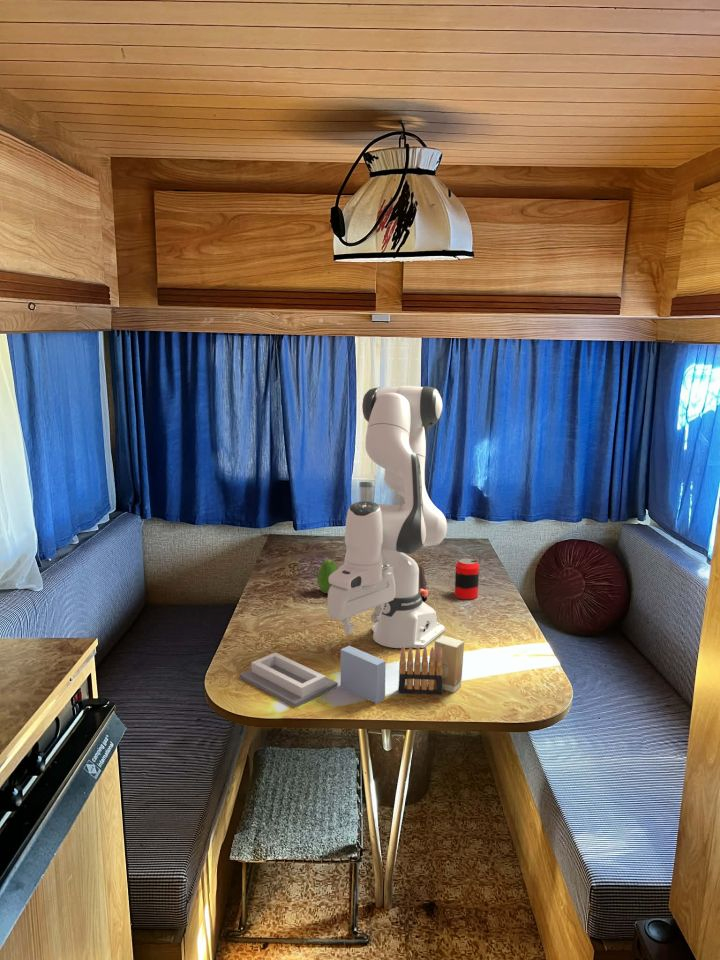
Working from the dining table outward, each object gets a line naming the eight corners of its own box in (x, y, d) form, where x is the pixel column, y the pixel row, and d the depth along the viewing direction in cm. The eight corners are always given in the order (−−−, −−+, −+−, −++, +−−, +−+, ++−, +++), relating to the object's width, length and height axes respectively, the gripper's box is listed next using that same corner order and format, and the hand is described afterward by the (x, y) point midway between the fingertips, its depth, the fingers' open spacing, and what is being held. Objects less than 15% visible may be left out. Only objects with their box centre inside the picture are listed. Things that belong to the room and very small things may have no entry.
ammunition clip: (441, 691, 177) (443, 645, 175) (442, 695, 176) (443, 649, 173) (398, 689, 178) (399, 644, 176) (398, 693, 176) (399, 647, 174)
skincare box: (431, 686, 180) (433, 640, 177) (439, 679, 183) (441, 634, 181) (454, 693, 176) (456, 647, 174) (462, 686, 180) (464, 640, 177)
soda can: (479, 600, 236) (481, 565, 234) (456, 600, 236) (457, 565, 234) (475, 591, 244) (477, 557, 241) (453, 591, 243) (454, 557, 241)
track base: (281, 659, 193) (281, 647, 193) (337, 686, 179) (337, 673, 179) (239, 677, 183) (239, 665, 183) (295, 707, 169) (295, 694, 169)
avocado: (314, 596, 238) (313, 561, 236) (322, 587, 246) (322, 554, 243) (337, 598, 236) (337, 563, 234) (344, 590, 244) (344, 556, 241)
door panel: (348, 682, 181) (349, 645, 179) (384, 699, 173) (385, 660, 171) (340, 686, 179) (340, 649, 177) (376, 704, 171) (377, 665, 169)
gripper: (382, 559, 179) (381, 612, 182) (323, 578, 165) (322, 635, 167) (402, 564, 175) (400, 618, 178) (342, 584, 160) (342, 643, 163)
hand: (362, 627), depth 172 cm, fingers open, 8 cm apart
